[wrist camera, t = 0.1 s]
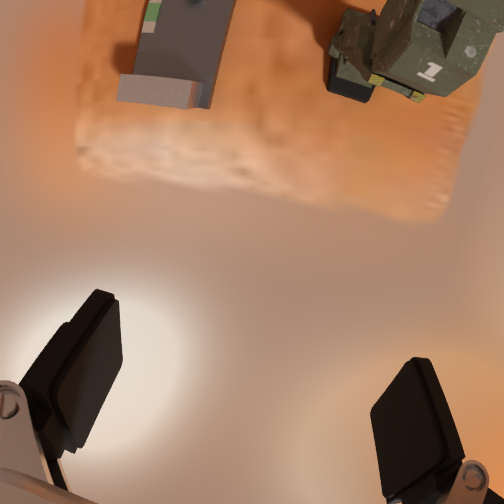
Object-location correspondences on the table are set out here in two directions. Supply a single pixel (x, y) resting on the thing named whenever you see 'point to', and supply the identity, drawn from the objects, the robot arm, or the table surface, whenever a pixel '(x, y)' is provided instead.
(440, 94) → the mechanical leg
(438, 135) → the table surface
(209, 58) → the gauge base
